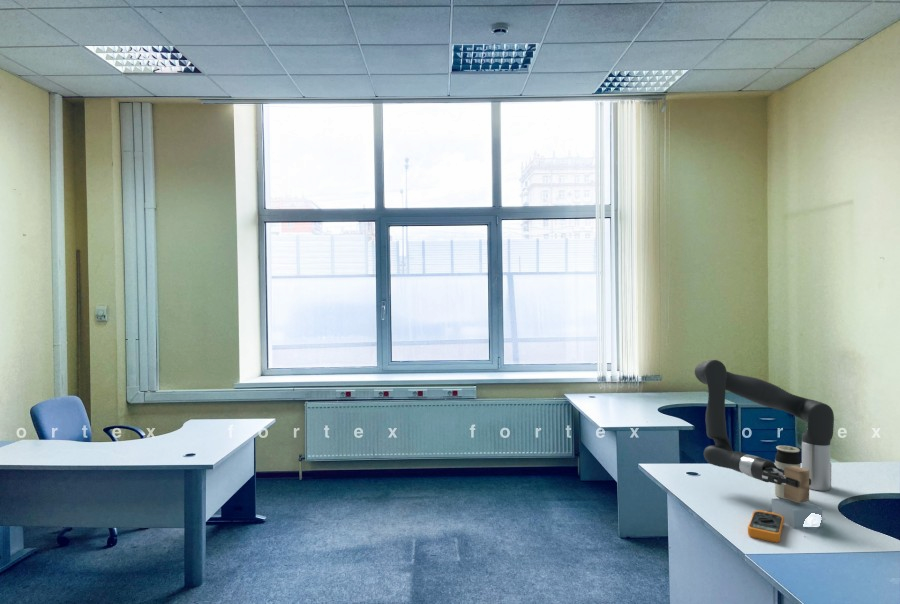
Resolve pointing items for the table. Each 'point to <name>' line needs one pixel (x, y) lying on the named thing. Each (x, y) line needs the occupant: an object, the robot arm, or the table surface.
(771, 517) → the multimeter
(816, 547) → the table surface
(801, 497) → the walnut block
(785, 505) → the slate box
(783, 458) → the travel mug
